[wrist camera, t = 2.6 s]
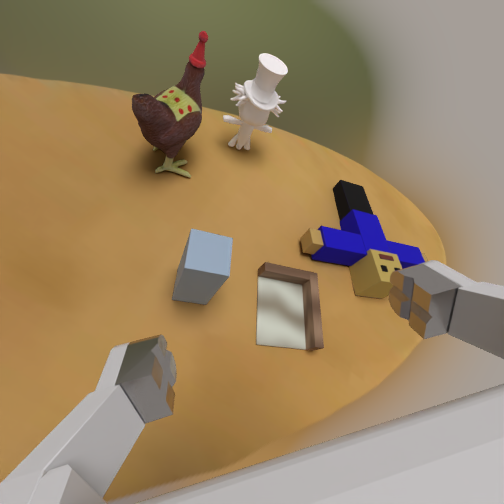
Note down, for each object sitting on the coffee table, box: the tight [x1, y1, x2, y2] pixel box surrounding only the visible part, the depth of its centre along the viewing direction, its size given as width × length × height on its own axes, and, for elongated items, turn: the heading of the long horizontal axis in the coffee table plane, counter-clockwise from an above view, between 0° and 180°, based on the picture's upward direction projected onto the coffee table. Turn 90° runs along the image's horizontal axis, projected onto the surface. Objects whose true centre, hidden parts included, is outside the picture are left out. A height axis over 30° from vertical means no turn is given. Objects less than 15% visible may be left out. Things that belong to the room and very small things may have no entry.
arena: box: [256, 262, 324, 350], centre depth 42 cm, size 12×10×3 cm
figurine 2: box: [223, 53, 288, 150], centre depth 49 cm, size 10×8×18 cm
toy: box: [301, 180, 428, 299], centre depth 56 cm, size 30×7×27 cm
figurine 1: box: [132, 31, 208, 178], centre depth 40 cm, size 11×15×20 cm
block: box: [172, 229, 233, 305], centre depth 34 cm, size 5×5×12 cm
